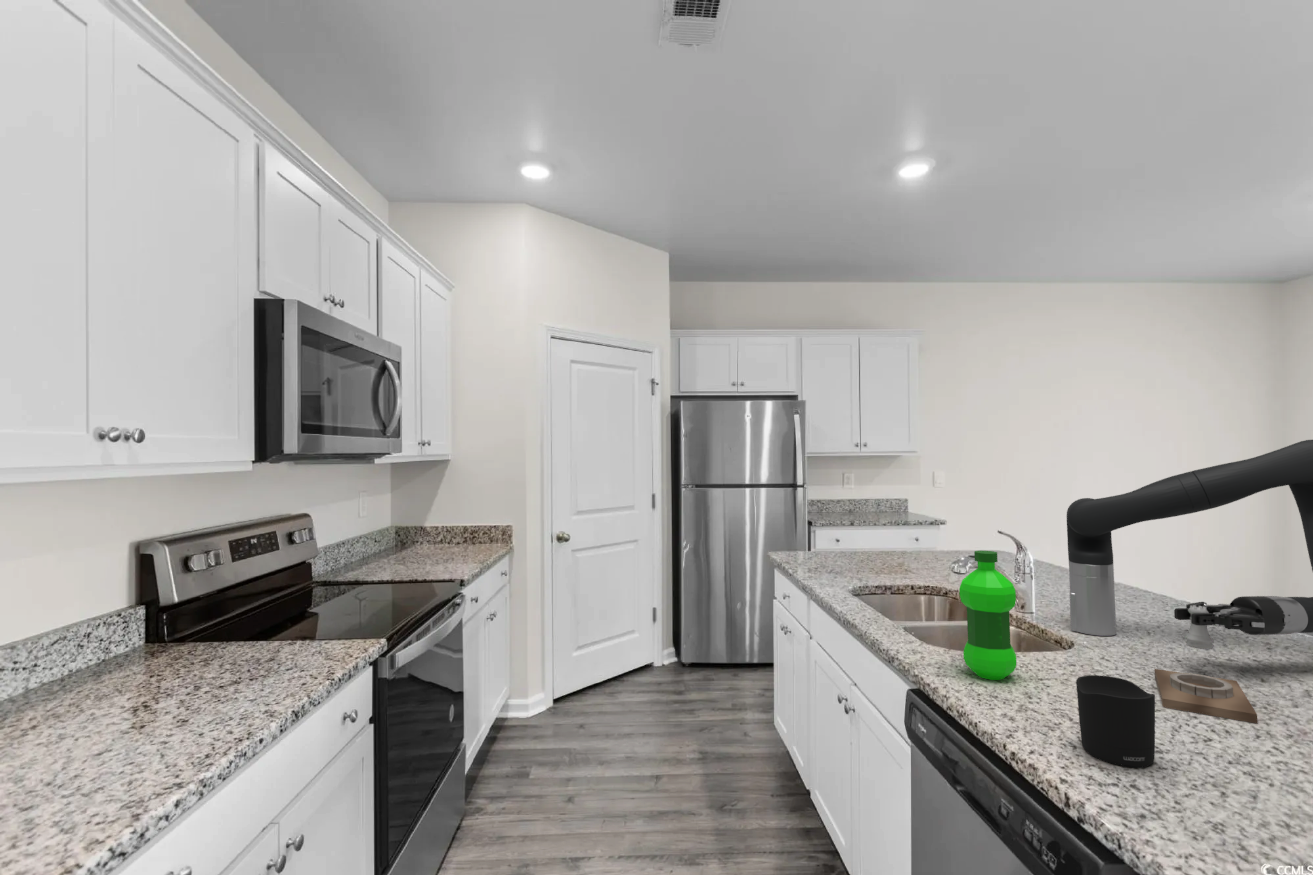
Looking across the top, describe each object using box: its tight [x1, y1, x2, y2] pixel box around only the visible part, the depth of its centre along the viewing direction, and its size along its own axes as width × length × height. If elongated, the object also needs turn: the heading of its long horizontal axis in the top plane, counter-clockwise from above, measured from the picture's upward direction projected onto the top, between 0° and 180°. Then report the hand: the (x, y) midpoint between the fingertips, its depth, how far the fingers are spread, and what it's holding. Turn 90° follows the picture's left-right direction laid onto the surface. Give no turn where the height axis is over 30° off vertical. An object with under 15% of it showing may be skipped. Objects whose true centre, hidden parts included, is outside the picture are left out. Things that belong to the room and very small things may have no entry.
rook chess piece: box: [1184, 605, 1215, 651], centre depth 123 cm, size 4×4×8 cm
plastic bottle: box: [958, 550, 1017, 681], centre depth 124 cm, size 10×10×25 cm
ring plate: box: [1153, 668, 1258, 724], centre depth 110 cm, size 12×18×3 cm, turn 144°
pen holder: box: [1075, 674, 1156, 769], centre depth 91 cm, size 9×9×10 cm
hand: (1184, 616), depth 123 cm, fingers closed on rook chess piece, 3 cm apart
